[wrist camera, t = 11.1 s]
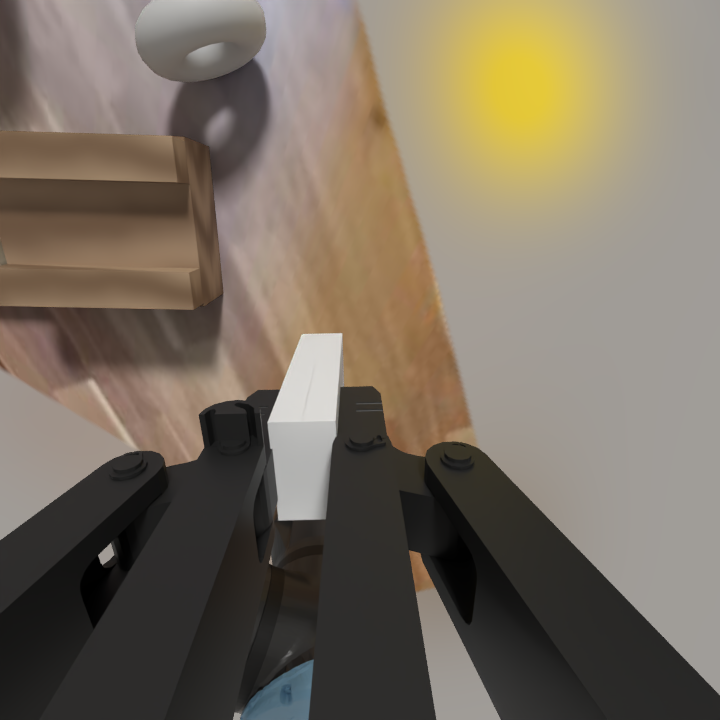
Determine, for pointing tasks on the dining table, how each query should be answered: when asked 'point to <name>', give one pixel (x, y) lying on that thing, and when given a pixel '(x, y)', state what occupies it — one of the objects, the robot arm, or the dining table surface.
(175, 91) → the dining table surface
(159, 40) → the donut
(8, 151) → the slot board
